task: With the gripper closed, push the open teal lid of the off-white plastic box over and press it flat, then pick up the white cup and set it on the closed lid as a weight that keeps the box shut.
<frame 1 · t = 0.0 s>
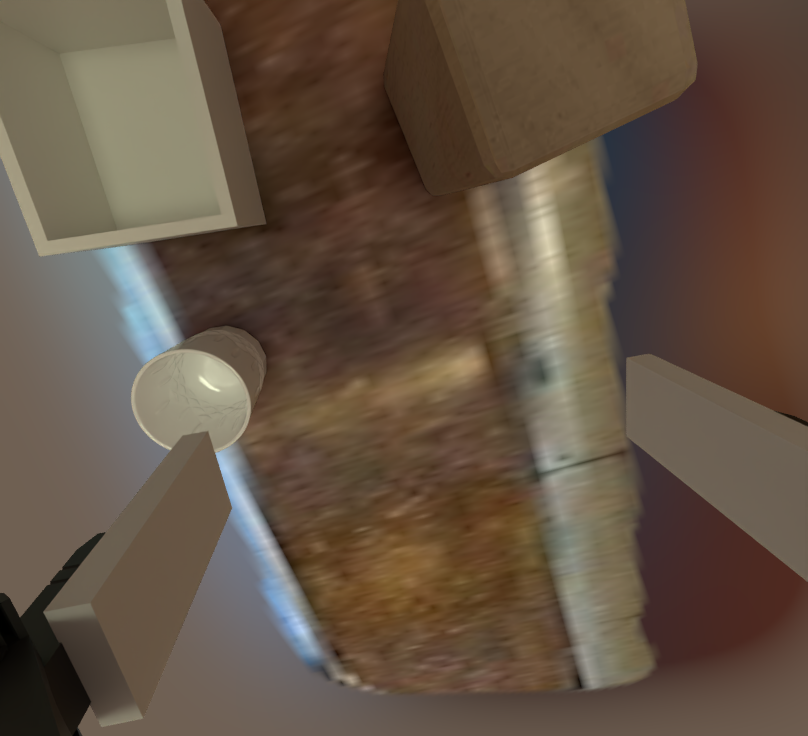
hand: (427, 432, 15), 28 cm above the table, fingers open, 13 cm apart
box: (166, 141, 36), on the table
block: (460, 114, 38), on the table
white cup: (229, 361, 42), on the table
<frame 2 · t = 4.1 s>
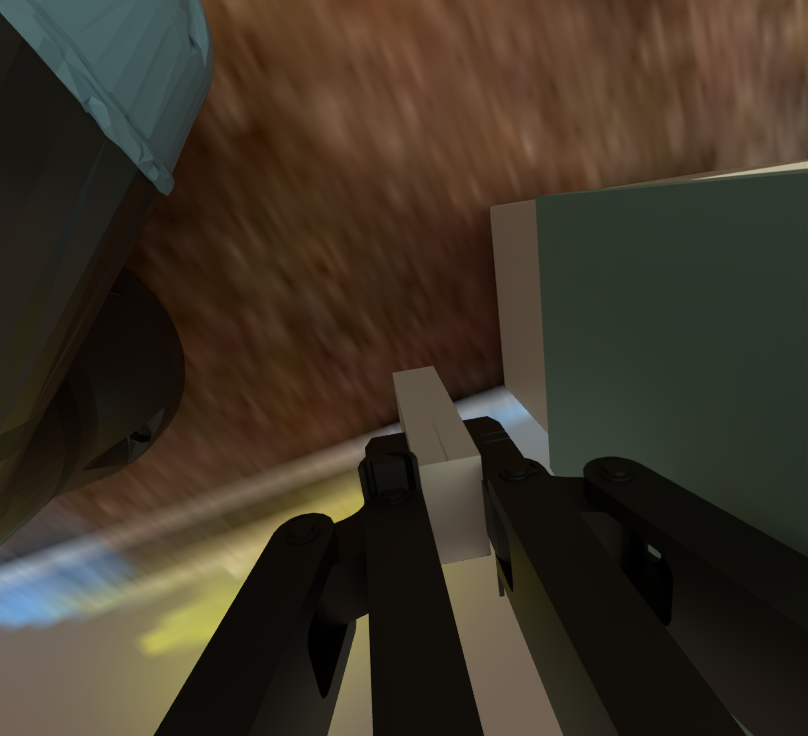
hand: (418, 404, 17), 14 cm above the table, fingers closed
box: (599, 284, 31), on the table
lid: (656, 409, 14), point 18 cm above the table, hinge at 96.3°, touching hand
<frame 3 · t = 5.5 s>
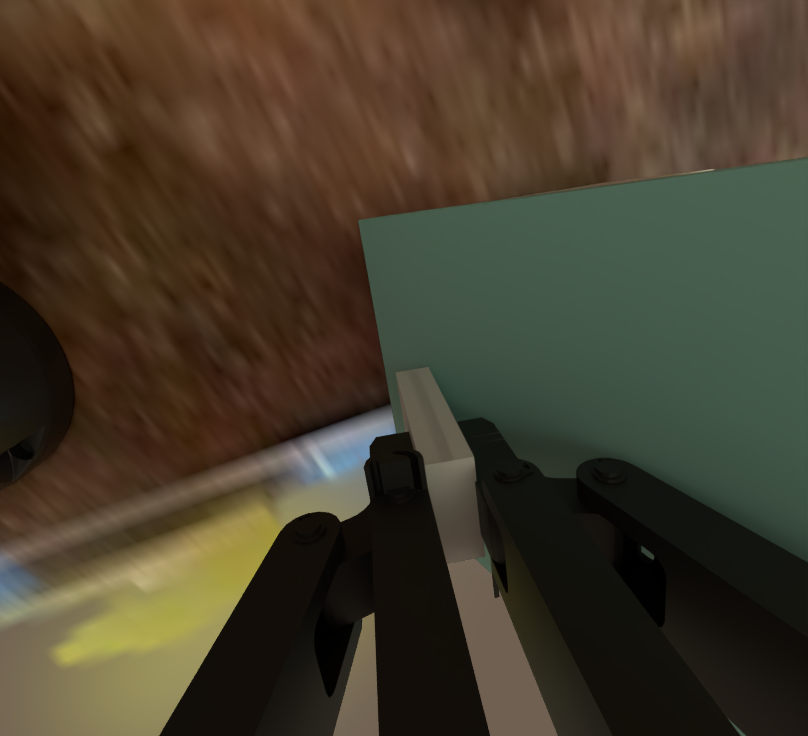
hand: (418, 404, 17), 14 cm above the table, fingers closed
box: (495, 298, 31), on the table
lid: (533, 416, 14), point 17 cm above the table, hinge at 65.3°, touching gripper
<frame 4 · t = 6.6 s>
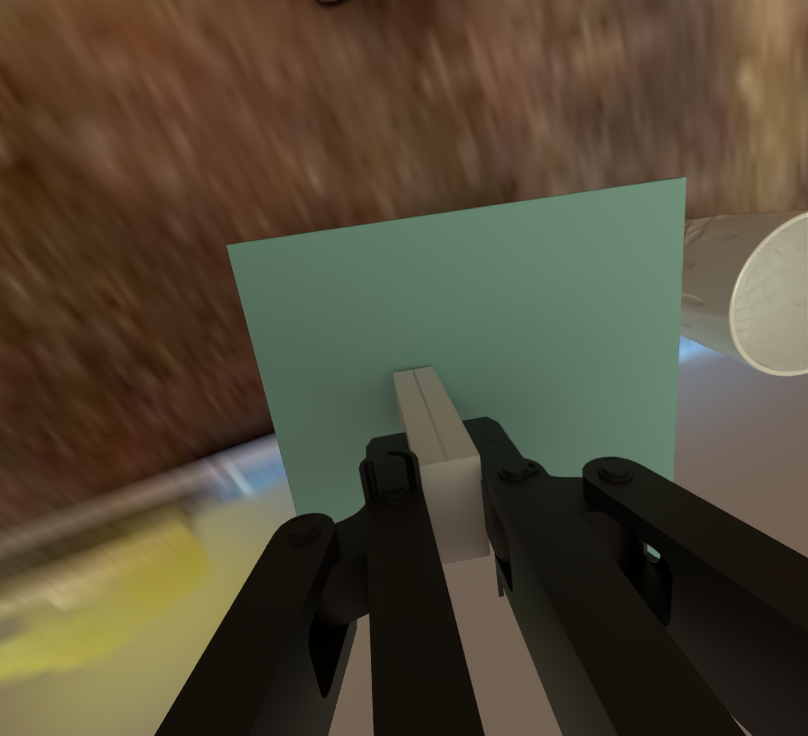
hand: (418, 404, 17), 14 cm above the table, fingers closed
lid: (449, 384, 18), point 13 cm above the table, hinge at 23.1°, touching gripper
white cup: (671, 271, 31), on the table
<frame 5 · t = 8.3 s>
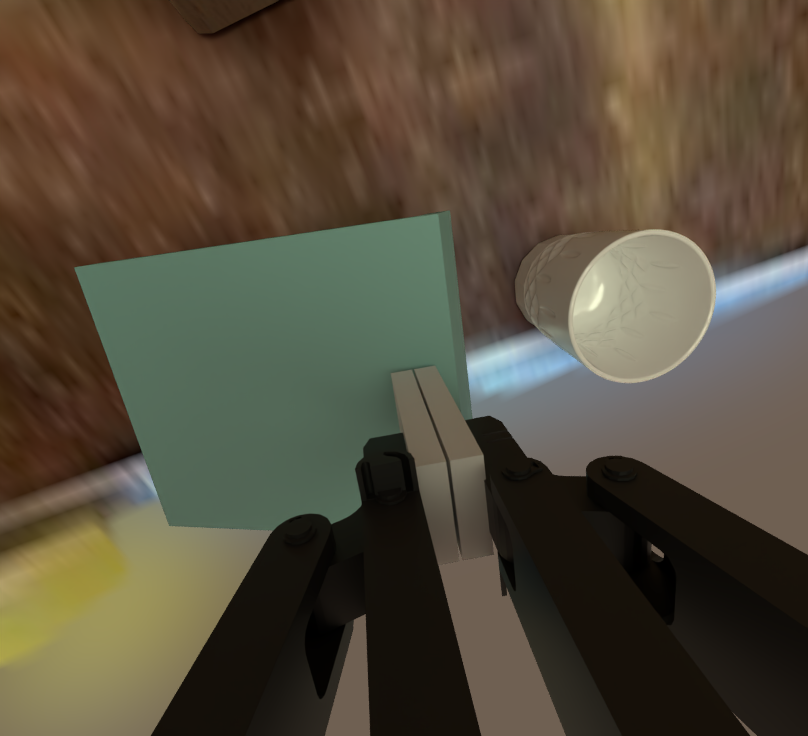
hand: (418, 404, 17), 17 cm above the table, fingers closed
lid: (289, 391, 20), point 13 cm above the table, hinge at 20.5°, touching gripper
white cup: (558, 283, 33), on the table
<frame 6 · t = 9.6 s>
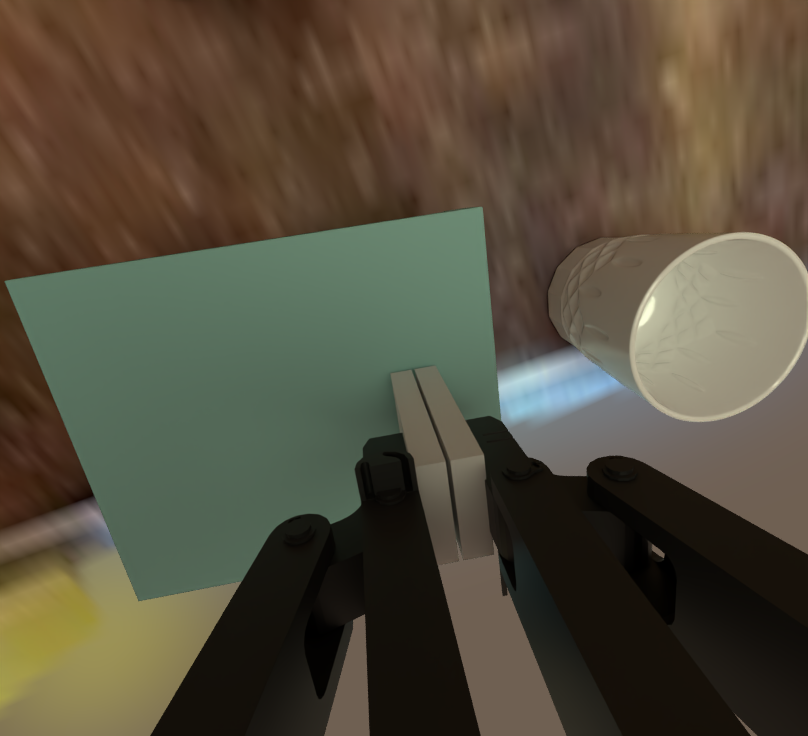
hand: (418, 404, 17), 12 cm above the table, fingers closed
lid: (297, 409, 18), point 10 cm above the table, hinge at 0.1°, touching gripper
white cup: (597, 294, 29), on the table
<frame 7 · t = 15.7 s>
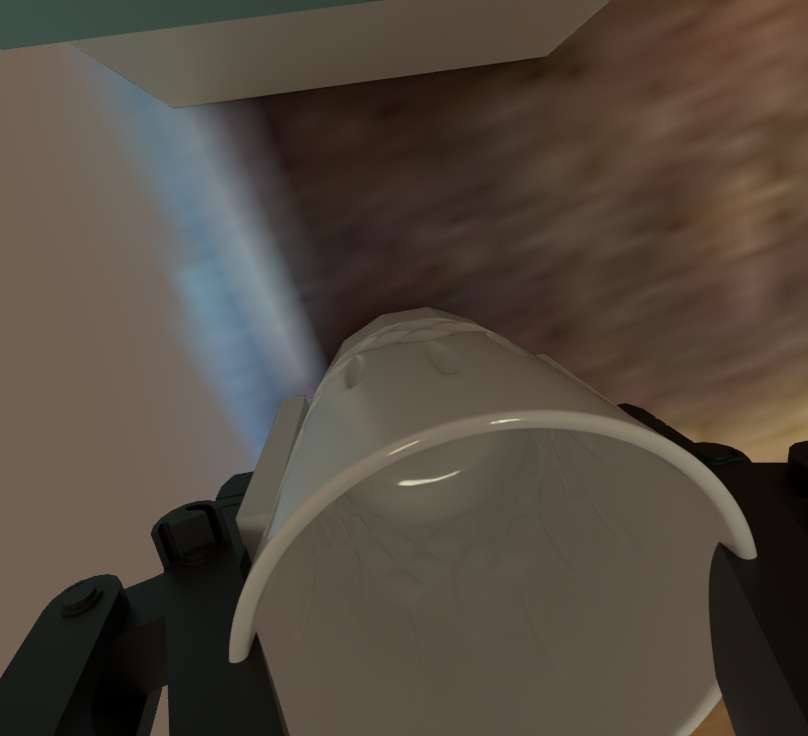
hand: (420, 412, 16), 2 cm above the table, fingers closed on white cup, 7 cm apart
white cup: (417, 399, 16), point 2 cm above the table, touching gripper
when the fingers open (13 cm above the table, at t = 21.1 s): white cup drops 1 cm, resting on lid.
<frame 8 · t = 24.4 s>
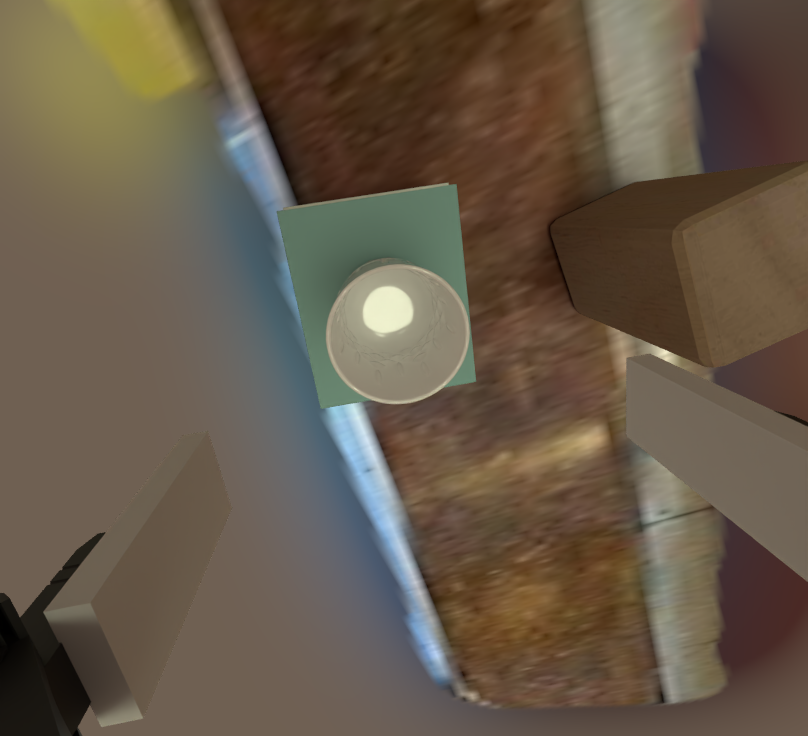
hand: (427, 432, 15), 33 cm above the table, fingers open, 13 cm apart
box: (376, 276, 45), on the table
block: (603, 249, 47), on the table
lid: (383, 300, 36), point 10 cm above the table, hinge at -1.0°, touching white cup
white cup: (386, 302, 35), point 11 cm above the table, touching lid
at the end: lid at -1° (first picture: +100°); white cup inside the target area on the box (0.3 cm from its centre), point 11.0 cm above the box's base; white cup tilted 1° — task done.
